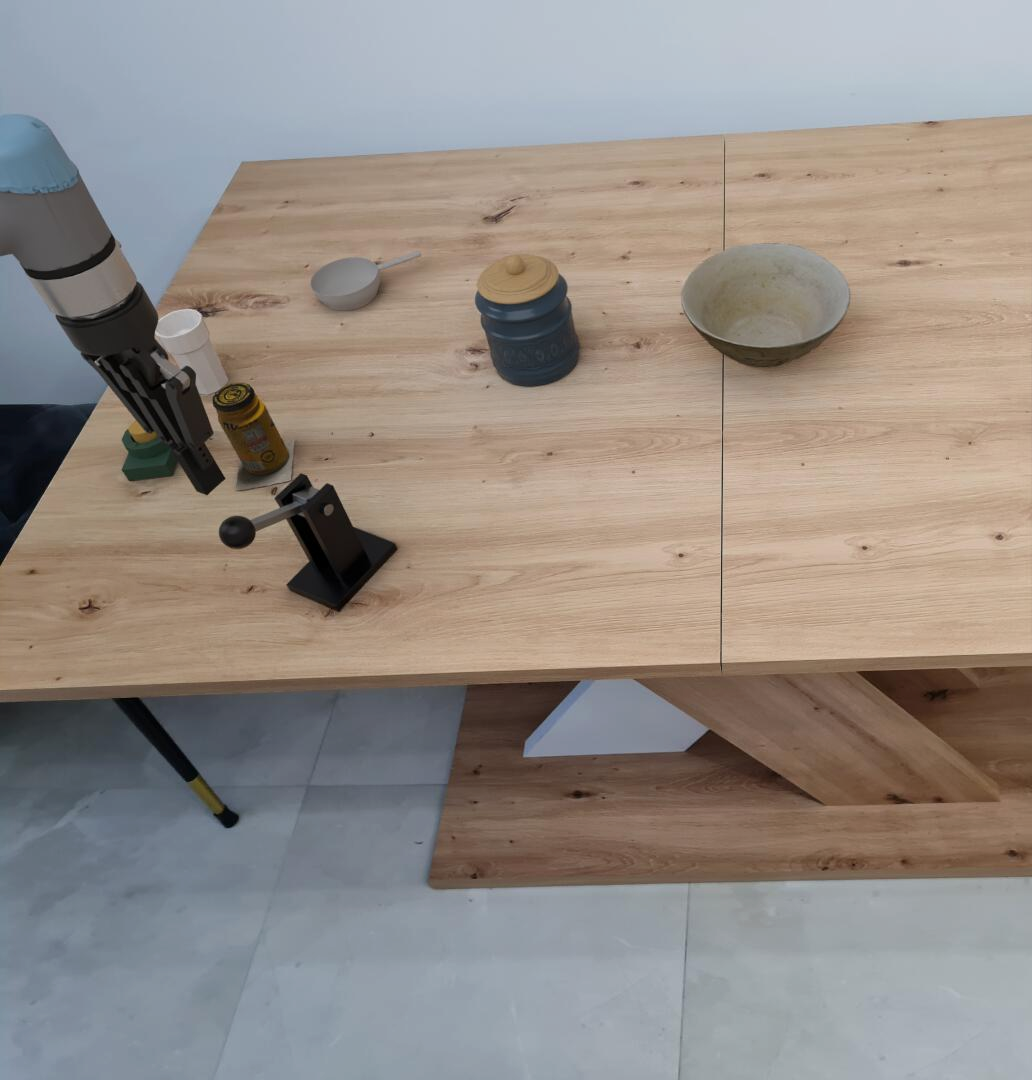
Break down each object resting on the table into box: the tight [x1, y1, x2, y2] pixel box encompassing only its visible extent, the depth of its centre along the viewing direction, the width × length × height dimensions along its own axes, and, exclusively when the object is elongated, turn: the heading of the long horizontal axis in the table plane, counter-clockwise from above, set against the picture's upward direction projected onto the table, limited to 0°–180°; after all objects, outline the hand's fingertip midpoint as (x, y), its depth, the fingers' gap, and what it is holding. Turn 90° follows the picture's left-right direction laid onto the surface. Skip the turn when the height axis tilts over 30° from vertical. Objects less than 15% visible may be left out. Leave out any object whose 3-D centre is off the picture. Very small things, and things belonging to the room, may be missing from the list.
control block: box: [121, 427, 179, 482], centre depth 145 cm, size 10×6×4 cm, turn 6°
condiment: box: [212, 382, 295, 491], centre depth 139 cm, size 7×8×12 cm
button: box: [128, 419, 158, 443], centre depth 143 cm, size 4×4×2 cm
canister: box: [474, 253, 581, 387], centre depth 148 cm, size 13×13×18 cm
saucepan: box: [309, 250, 422, 311], centre depth 169 cm, size 11×18×4 cm, turn 114°
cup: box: [155, 308, 230, 395], centre depth 152 cm, size 7×7×11 cm
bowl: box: [680, 242, 851, 369], centre depth 149 cm, size 24×24×10 cm
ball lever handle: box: [218, 486, 320, 550], centre depth 116 cm, size 13×4×4 cm, turn 152°
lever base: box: [274, 472, 398, 613], centre depth 124 cm, size 11×8×14 cm
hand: (211, 484), depth 110 cm, fingers closed
